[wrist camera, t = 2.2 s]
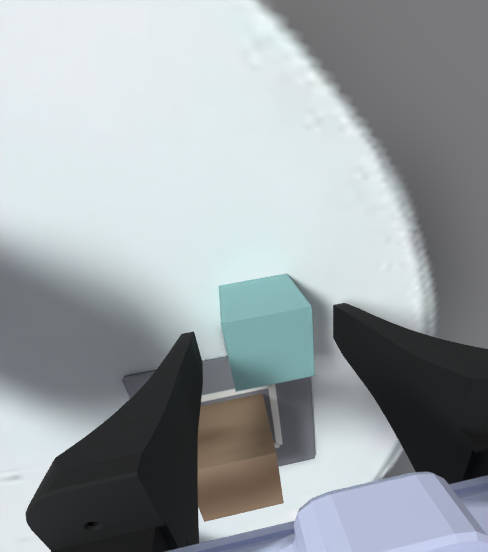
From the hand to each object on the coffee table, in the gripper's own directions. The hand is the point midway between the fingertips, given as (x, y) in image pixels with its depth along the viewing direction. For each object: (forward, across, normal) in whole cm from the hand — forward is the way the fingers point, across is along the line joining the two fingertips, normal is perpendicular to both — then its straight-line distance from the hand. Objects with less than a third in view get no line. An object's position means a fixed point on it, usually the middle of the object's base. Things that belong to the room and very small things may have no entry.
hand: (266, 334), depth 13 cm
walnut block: (+2, +3, +9) cm, 10 cm away
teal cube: (+3, 0, 0) cm, 3 cm away
